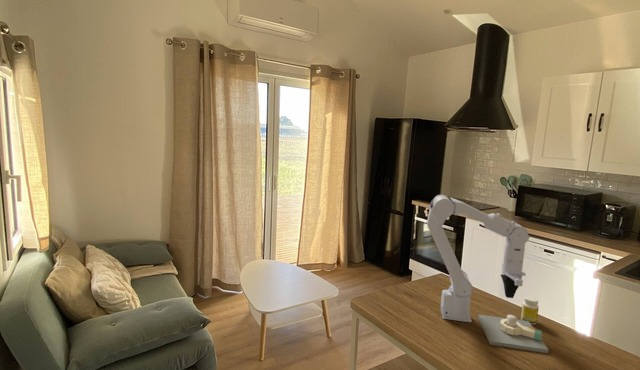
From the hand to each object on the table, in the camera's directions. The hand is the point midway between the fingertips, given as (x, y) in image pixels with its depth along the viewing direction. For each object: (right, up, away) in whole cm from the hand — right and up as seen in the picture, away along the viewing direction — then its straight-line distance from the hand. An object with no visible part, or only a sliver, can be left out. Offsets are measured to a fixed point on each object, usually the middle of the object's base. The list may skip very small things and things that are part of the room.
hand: (509, 296), depth 114 cm
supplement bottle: (+8, -10, +2) cm, 13 cm away
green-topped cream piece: (-1, -9, -7) cm, 12 cm away
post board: (-3, -10, -6) cm, 12 cm away
